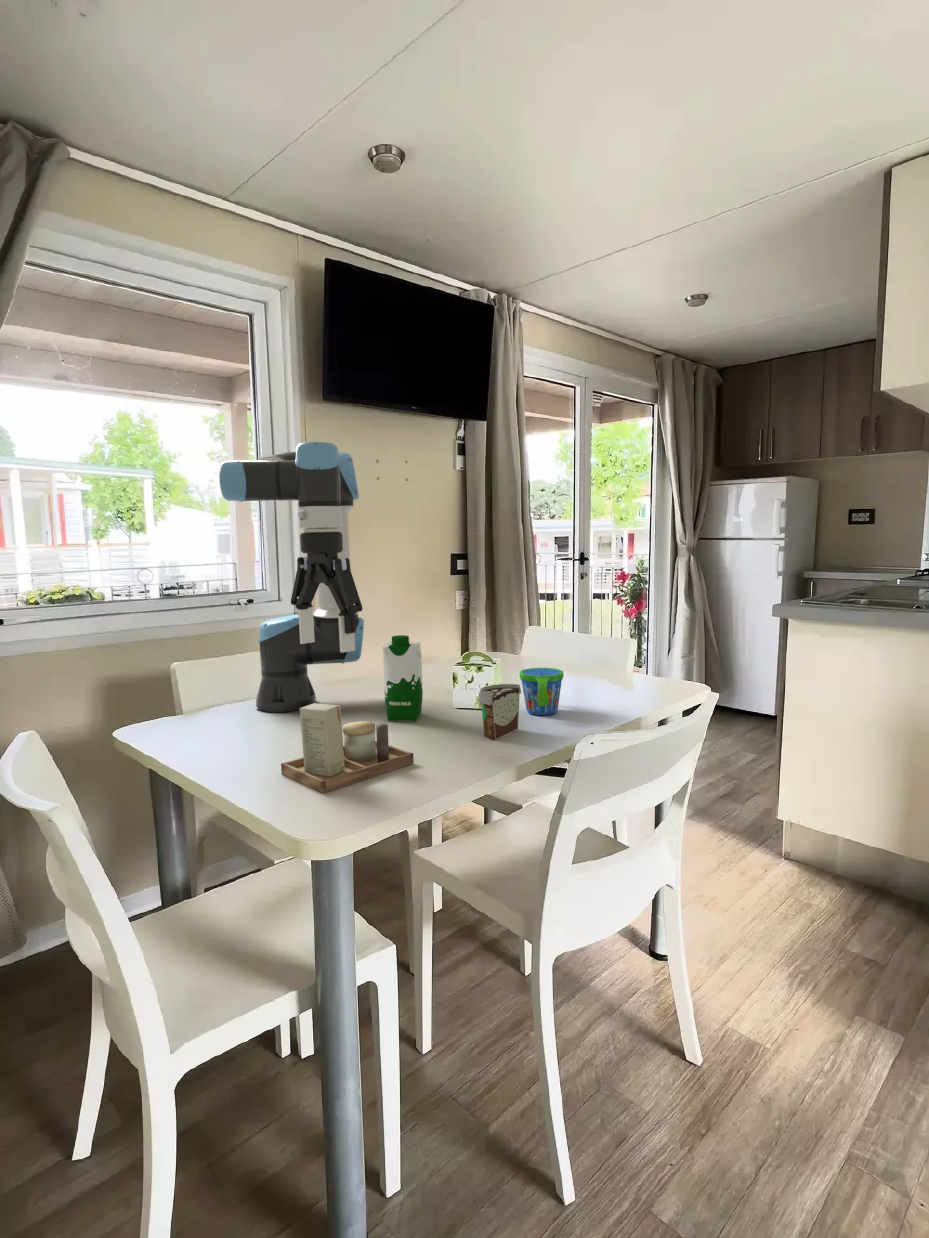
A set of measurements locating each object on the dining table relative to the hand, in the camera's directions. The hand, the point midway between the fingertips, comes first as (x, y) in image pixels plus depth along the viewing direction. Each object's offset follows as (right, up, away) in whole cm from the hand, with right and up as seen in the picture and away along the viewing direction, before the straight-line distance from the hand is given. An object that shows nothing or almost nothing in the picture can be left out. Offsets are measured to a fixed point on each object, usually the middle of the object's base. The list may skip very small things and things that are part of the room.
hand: (326, 647), depth 122 cm
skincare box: (0, -23, -2) cm, 23 cm away
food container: (+32, -20, +23) cm, 44 cm away
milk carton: (+11, -19, +37) cm, 43 cm away
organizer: (+4, -23, +2) cm, 23 cm away
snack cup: (+44, -18, +39) cm, 61 cm away
